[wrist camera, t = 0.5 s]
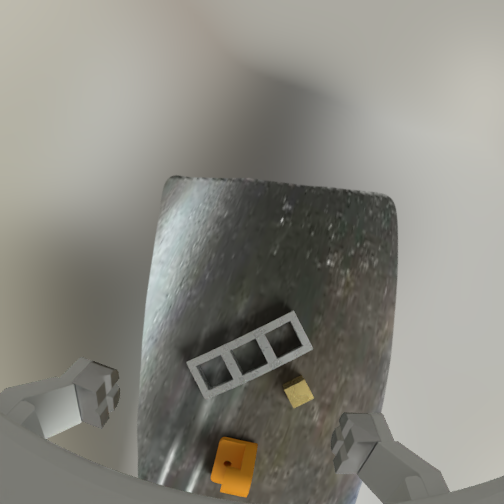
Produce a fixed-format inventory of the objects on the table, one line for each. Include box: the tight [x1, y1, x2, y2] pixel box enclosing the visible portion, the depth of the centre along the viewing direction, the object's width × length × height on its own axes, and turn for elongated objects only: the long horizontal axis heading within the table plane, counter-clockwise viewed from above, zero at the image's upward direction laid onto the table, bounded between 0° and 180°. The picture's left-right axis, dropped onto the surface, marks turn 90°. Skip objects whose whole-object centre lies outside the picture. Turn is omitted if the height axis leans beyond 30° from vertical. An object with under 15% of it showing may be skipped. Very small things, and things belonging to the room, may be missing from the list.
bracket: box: [211, 437, 258, 497], centre depth 47 cm, size 11×7×12 cm, turn 167°
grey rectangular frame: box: [186, 311, 313, 400], centre depth 56 cm, size 8×22×3 cm, turn 117°
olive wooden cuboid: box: [283, 375, 314, 408], centre depth 53 cm, size 4×4×5 cm
